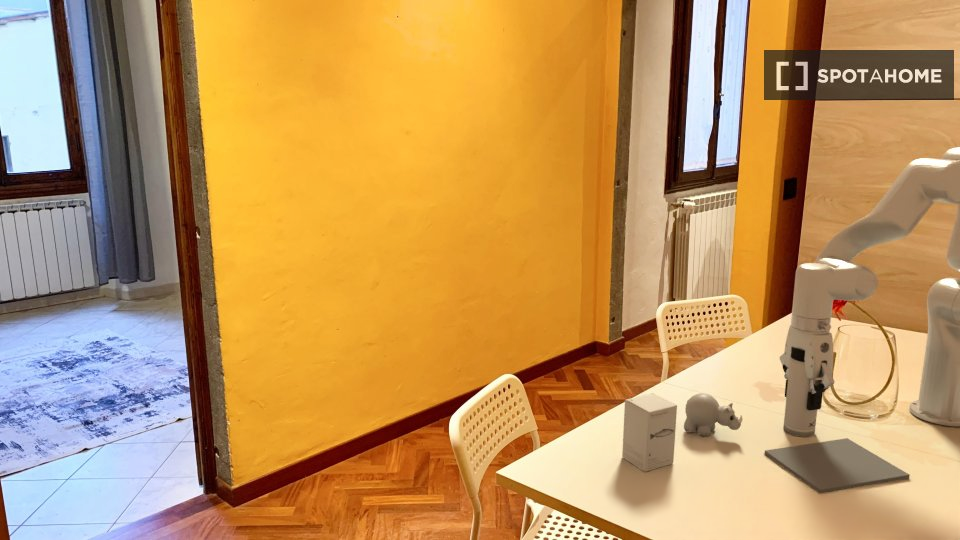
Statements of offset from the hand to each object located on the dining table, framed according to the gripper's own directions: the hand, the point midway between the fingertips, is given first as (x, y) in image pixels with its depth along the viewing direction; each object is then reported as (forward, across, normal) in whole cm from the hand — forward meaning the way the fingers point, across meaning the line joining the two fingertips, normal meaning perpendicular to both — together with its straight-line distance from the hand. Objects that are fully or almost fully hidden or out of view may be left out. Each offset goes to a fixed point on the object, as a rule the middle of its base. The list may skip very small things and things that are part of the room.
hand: (802, 402), depth 158 cm
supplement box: (+7, -3, +38) cm, 39 cm away
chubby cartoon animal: (+7, +4, +19) cm, 20 cm away
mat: (+7, -15, +4) cm, 17 cm away
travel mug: (+7, 0, 0) cm, 7 cm away
